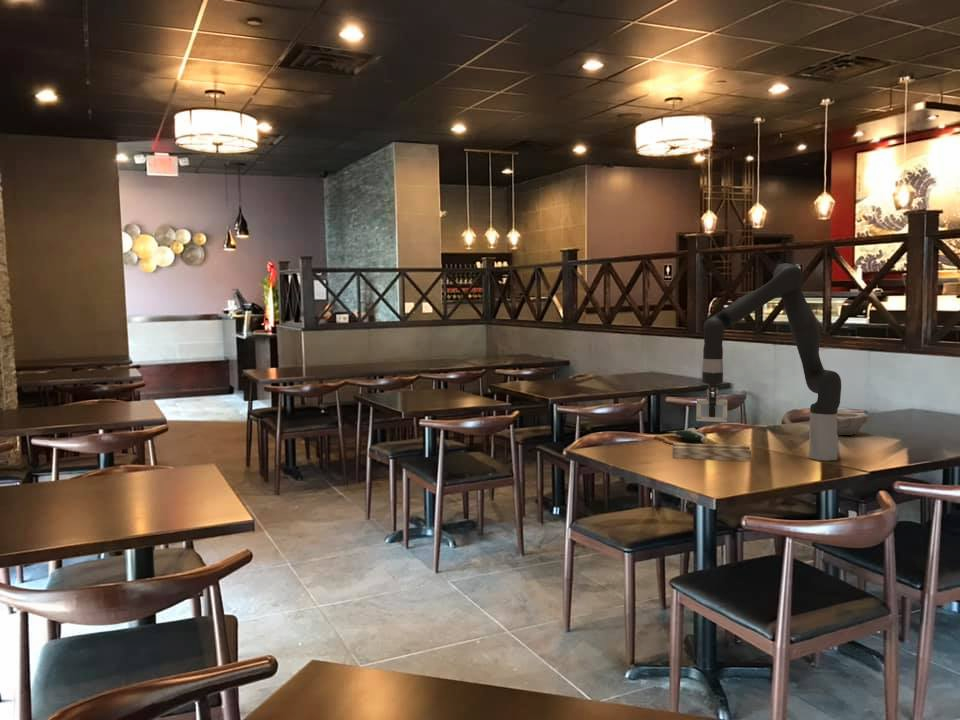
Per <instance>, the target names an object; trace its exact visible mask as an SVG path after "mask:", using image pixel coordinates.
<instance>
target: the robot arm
mask: <svg viewBox="0 0 960 720" xmlns="http://www.w3.org/2000/svg"><path fill="white" fill-rule="evenodd" d="M803 282H804V272H803V270H802V269H801V268H800V267H798V266H797V265H794V264H792V263H787V262H786V263H781V264H778V265H777V266H776V268H775V269H774V271H773V275H772V278H771V279H770V280H769V281H768V282H766V283H765V284H764V285H762V286H760V287H759V288H757V289H755V290H753V291H751V292H749V293H747V294H744V295H742V296H741V297H739V298H737V299H736V300H735V301H733V302H732V303H730V304H729V305H727V306H726V307H725V308H724V309H722V310H721V311H719V312H717V313H716V314H714V315H712V316H711V317H709V318H707V319H706V320H705V321H704V323H703V341H704V344H703V353H702V356H703V357H702V364H701V365H702V366H701V367H702V368H701V370H702V371H701V374H702V375H701V382H702V383H703V384H707V385H708V387H706V393H707V394H706V395H707V397H706V399H708V401H709V417H715V407H716V401H717V399H718V393H719V388H718V387H716V386H717V385H722V384H723V383H724V349H723V342H724V341H723V340H724V331H725V330H727V329H728V328H730V327H731V326H733V325H734V324H736V323H739V322H741V321H742V320H743V319H745V318H746V317H749V316H750V315H751V314H752V313H754V312H756V311H757V310H758V309H760V308H762V307H763V306H765V305H766V304H768V303H769V302H771V301H773V300H775V299H776V298H779V297H781V300H782V301H783V304H784V305H783V306H784V309H785V313H786V317H787V320H788V324H789V328H790V331H791V334H792V337H793V340H794V343H795V345H796V348H797V351H798V354H799V355H798V356H799V359H800V361H801V365H802V370H803V374H804V380H805V384H806V386H807V387H808V390H810V391H811V392H812V393H815V394H817V400H816V401H815V402H814V403H812V404H811V405H810V406H809V435H808V436H809V439H808V458H809V459H813V460H817V461H827V462H828V461H838V443H839V441H838V440H839V435H837V412H838V410H839V407H840V405H841V396H842V395H841V393H842V380H841V379H842V378H841V376H840V375H839V373H838V372H836V371H835V370H829V369H825V368H824V365H823V362H822V360H821V358H820V348H821V347H820V346H821V340H822V335H821V330H820V327H819V325H818V321H817V319H816V317H815V314H814V312H813V311H812V308H811V306H810V305H809V303H808V302H807V299H806V298H805V295H804V292H803V289H802V283H803ZM711 401H714V403H711Z"/></svg>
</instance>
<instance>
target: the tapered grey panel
mask: <svg viewBox="0 0 960 720" xmlns="http://www.w3.org/2000/svg"><path fill="white" fill-rule="evenodd" d="M711 403H714V401H711ZM695 420H696V422H714V423H715V422H719V423H721V422H722V423H727V422H728V399H719V398H717V401H716V407H715V417H709V401H708V399H707V398H696V419H695Z"/></svg>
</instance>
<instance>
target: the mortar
mask: <svg viewBox="0 0 960 720" xmlns="http://www.w3.org/2000/svg"><path fill="white" fill-rule="evenodd" d="M869 419H870V417H869V415H868V414H867V413H866V414H864V413H861V412H860V413H859V412H852V411H837V435H838V436H839V435H853V434H856V435H857V434H858V433H859V431H860V430H861V428H862V426H863V425H864V424H866V423H867V422H868V420H869ZM853 436H854V435H853Z"/></svg>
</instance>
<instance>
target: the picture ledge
mask: <svg viewBox="0 0 960 720" xmlns="http://www.w3.org/2000/svg"><path fill="white" fill-rule="evenodd" d="M685 458H693V459H692V460H707V459H709V460H710V461H715V460H716V461H731V462H732V461H733V462H752V449H751V447H750V445H733V444H731V445H729V444H728V445H727V444H724V445H710V444H685V443H673V446H672V459H685Z"/></svg>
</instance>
